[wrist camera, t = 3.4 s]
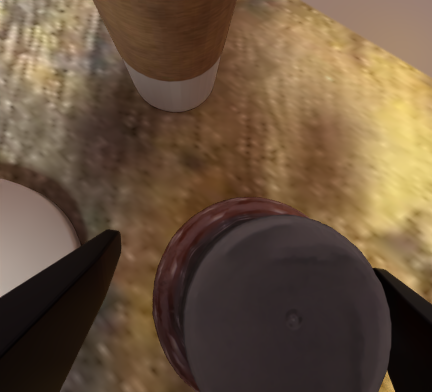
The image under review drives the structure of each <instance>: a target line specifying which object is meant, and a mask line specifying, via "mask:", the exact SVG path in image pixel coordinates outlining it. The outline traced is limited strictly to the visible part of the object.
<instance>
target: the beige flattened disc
mask: <svg viewBox="0 0 432 392" xmlns="http://www.w3.org/2000/svg"><path fill="white" fill-rule="evenodd" d="M80 246H81V244H80V241H79V238H78V236H77V233H76V231H75V229H74V227H73V225H72V223H71V222H70V220H69V219H68V217H67V216H66V215H65V214H64V212H63V211H62V210H61V209H60V208H59V207H58V206H57V205H56V204H55V203H54V202H53V201H51V200H50V199H48V198H47V197H45V196H44V195H42V194H40V193H38V192H36V191H34V190H32V189H30V188H27V187H25V186H22V185H20V184H17V183H14V182H11V181H8V180H5V179H0V297H1V296H3V295H4V294H6V293H8V292H9V291H11V290H12V289H14V288H15V287H17V286H19V285H20V284H22V283H23V282H25V281H26V280H28V279H30V278H31V277H33V276H34V275H36V274H38V273H39V272H41V271H42V270H44V269H45V268H47V267H49V266H50V265H52V264H53V263H55V262H56V261H58V260H60V259H61V258H63V257H64V256H66V255H67V254H69V253H71V252H72V251H74V250H75V249H77V248H79V247H80Z"/></svg>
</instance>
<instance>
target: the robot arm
mask: <svg viewBox="0 0 432 392" xmlns="http://www.w3.org/2000/svg"><path fill="white" fill-rule="evenodd" d="M120 254H121V234H120V232H119V231H117V230H110V229H108V230H105V231H104V232H102V233H101V234H99V235H97V236H96V237H94V238H93V239H91V240H90V241H88V242H86V243H85V244H83V245H82V246H80V247H79V248H77V249H75V250H74V251H72V252H71V253H69V254H67V255H66V256H64V257H63V258H61V259H60V260H58V261H56V262H55V263H53V264H52V265H50V266H49V267H47V268H45V269H44V270H42V271H41V272H39V273H38V274H36V275H34V276H33V277H31V278H30V279H28V280H26V281H25V282H23V283H22V284H20V285H19V286H17V287H15V288H14V289H12V290H11V291H9V292H8V293H6V294H4V295H3V296H1V297H0V392H60V390H61V387H62V385H63V383H64V381H65V379H66V377H67V375H68V373H69V371H70V369H71V367H72V365H73V363H74V361H75V359H76V357H77V355H78V352H79V350H80V348H81V346H82V344H83V342H84V340H85V338H86V336H87V334H88V332H89V330H90V328H91V326H92V324H93V322H94V320H95V317H96V315H97V313H98V311H99V309H100V307H101V305H102V303H103V301H104V299H105V296H106V294H107V291H108V288H109V285H110V283H111V280H112V277H113V274H114V271H115V269H116V266H117V263H118V260H119V257H120ZM373 270H374V272H375V275H376V276H377V278H378V279H379V281H380V282H381V284H382V287H383V290H384V292H385V296H386V300H387V304H388V307H389V311H390V320H391V349H390V355H389V363H388V368H387V371H388V374H389V377H390V379H391V382H392V385H393V387H394V390H395V392H432V304H431V303H429V302H428V301H427V300H425V299H424V298H423V297H421V296H420V295H419V294H417V293H416V292H414V291H413V290H412V289H410V288H409V287H408V286H406V285H405V284H404V283H402V282H401V281H400V280H398V279H397V278H396V277H394V276H393V275H392V274H390V273H389V272H388V271H386V270H384V269H379V268H373Z"/></svg>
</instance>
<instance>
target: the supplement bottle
mask: <svg viewBox="0 0 432 392" xmlns="http://www.w3.org/2000/svg"><path fill="white" fill-rule="evenodd" d="M152 314H153V319H154V323H155V328H156V331H157V335H158V338H159V341H160V344H161V346H162V348H163V350H164V353H165V355H166V357H167V359H168V361H169V363H170V364H171V365H172V367H173V368H174V370H175V371H176V373H177V374H178V375H179V376H180V378H181V379H183V380H184V382H185V383H187V384H188V385H189V386H190V387H192V388H193V389H194V390H195V391H196V392H378V391H379V389H380V386H381V384H382V381H383V379H384V377H385V374H386V371H387V368H388V363H389V355H390V349H391V320H390V311H389V307H388V304H387V300H386V296H385V292H384V290H383V287H382V284H381V282H380V281H379V279H378V278H377V276H376V275H375V272H374V270H373V268H372V267H371V265H370V263H369V262H368V261H367V259H366V258H365V256H364V255H363V254H362V252H361V251H360V250H359V249H358V248H357V247H356V246H355V245H354V244H352V243H351V242H350V241H349V240H348V239H347V238H346V237H344V236H343V235H341V234H340V233H338V232H337V231H336V230H334V229H333V228H331V227H329V226H327V225H325V224H322V223H321V222H319V221H316V220H312V219H310V218H308V217H307V216H306V215H304V214H303V213H301V212H300V211H298V210H296V209H294V208H292V207H291V206H288V205H286V204H283V203H281V202H277V201H274V200H270V199H265V198H260V197H243V198H233V199H229V200H224V201H222V202H218V203H215V204H213V205H211V206H209V207H207V208H205V209H203V210H202V211H201V212H199V213H197V214H196V215H194V216H193V217H192V218H190V219H189V220H188V221H187V222H186V223H185V224H184V225H183V226H182V227H181V228H180V229H179V230H178V231H177V232H176V234H175V235H174V236H173V237H172V239H171V241H170V242H169V244H168V246H167V247H166V249H165V252H164V254H163V256H162V258H161V261H160V263H159V265H158V268H157V273H156V277H155V281H154V290H153V312H152Z"/></svg>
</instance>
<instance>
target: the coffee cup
mask: <svg viewBox="0 0 432 392" xmlns="http://www.w3.org/2000/svg"><path fill="white" fill-rule="evenodd" d="M93 1H94V3H95V5H96V7H97V9H98V12H99V14H100V16H101V18H102V20H103V22H104V24H105V26H106V28H107V30H108V32H109V34H110V36H111V38H112V40H113V42H114V44H115V46H116V48H117V50H118V51H119V53H120V55H121V57H122V59H123V61H124V63H125V65H126V68H127V70H128V72H129V74H130V76H131V78H132V81H133V83H134V85H135V87H136V89H137V90H138V92H139V94H140V95H141V96H142V98H143V99H144V100H145V101H147V102H148V103H149V104H150V105H152V106H154V107H156V108H158V109H161V110H164V111H170V112H182V111H187V110H190V109H193V108H195V107H197V106H198V105H200V104H201V103H203V102H204V101H205V100H206V99H207V98H208V96H209V95H210V93H211V91H212V88H213V85H214V82H215V78H216V74H217V70H218V66H219V61H220V57H221V53H222V50H223V47H224V44H225V40H226V37H227V33H228V29H229V26H230V22H231V18H232V15H233V11H234V8H235V4H236V0H93Z"/></svg>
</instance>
